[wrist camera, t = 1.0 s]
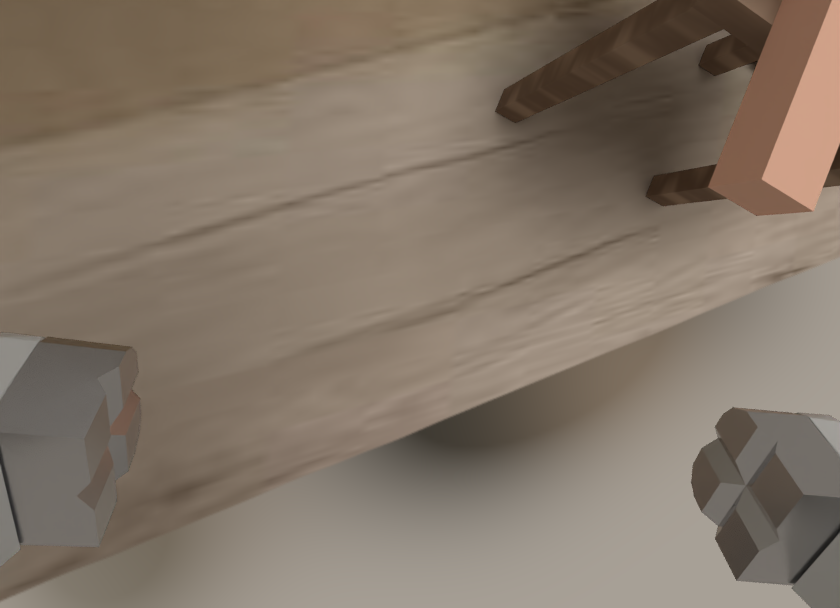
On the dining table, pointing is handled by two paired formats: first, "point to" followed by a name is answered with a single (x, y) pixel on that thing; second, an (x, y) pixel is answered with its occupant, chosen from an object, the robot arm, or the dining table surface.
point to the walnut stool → (645, 42)
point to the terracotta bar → (787, 115)
